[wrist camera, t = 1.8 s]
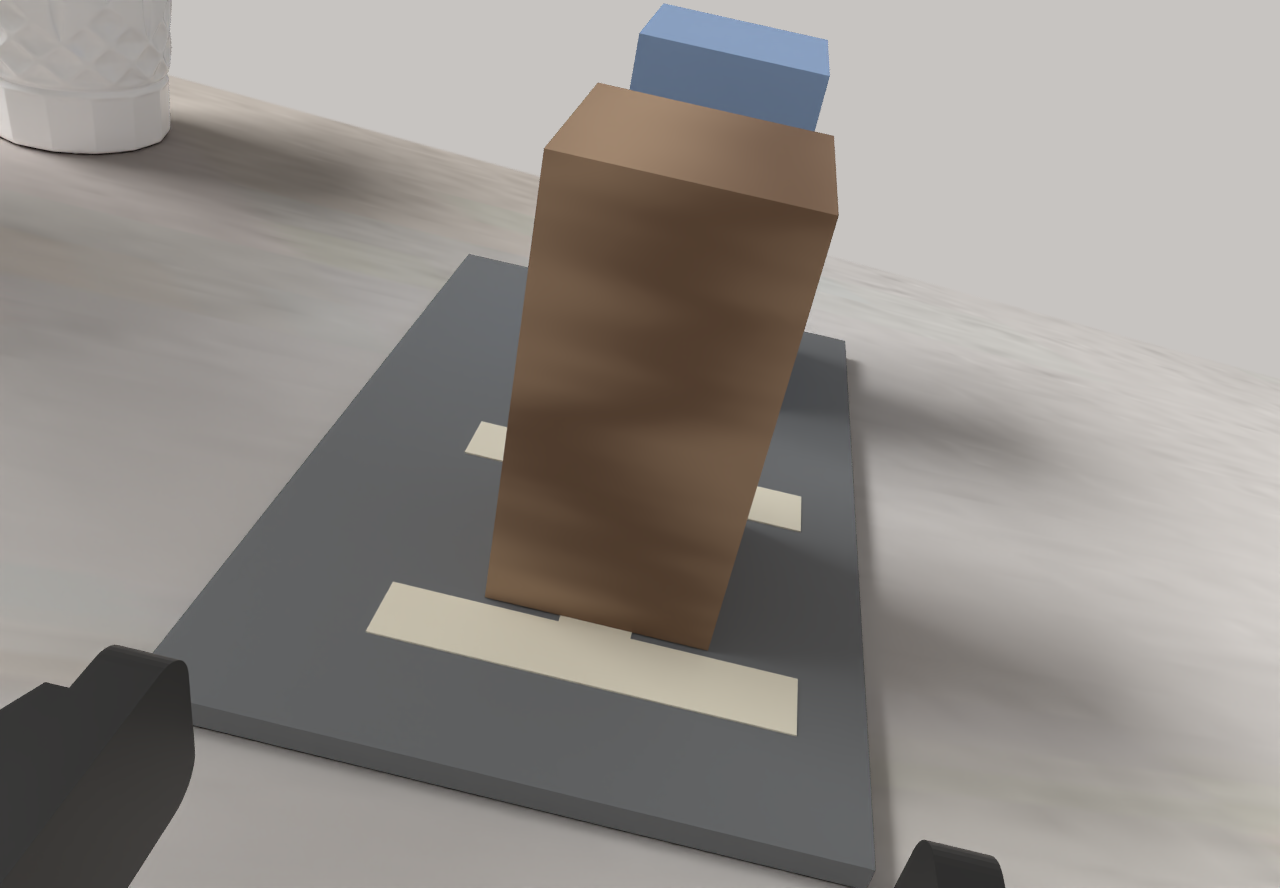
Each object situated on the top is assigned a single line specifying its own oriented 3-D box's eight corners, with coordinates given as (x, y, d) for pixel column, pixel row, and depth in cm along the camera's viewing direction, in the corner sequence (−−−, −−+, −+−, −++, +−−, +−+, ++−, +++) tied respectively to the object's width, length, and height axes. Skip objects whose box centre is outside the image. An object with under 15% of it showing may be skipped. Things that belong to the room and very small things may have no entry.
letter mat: (129, 709, 19) (125, 684, 19) (467, 269, 38) (469, 253, 37) (865, 890, 19) (876, 869, 18) (840, 355, 37) (845, 339, 37)
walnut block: (484, 596, 22) (543, 148, 17) (537, 473, 27) (598, 82, 21) (707, 650, 22) (838, 215, 17) (724, 517, 26) (833, 136, 21)
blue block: (581, 369, 32) (639, 33, 26) (608, 304, 36) (663, 3, 31) (739, 406, 32) (829, 76, 26) (748, 336, 36) (827, 39, 30)
